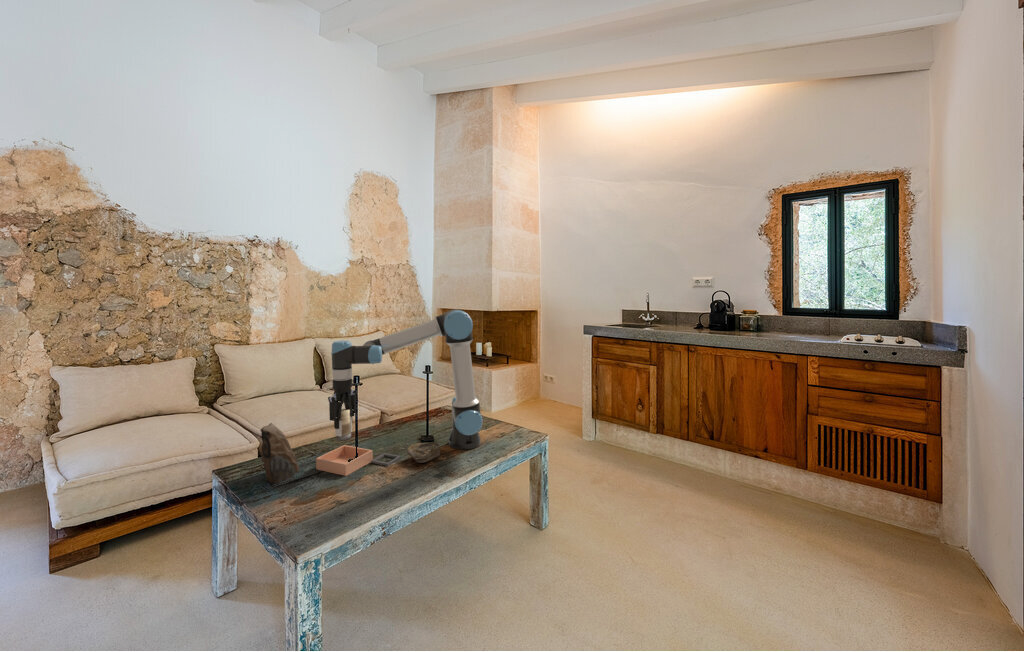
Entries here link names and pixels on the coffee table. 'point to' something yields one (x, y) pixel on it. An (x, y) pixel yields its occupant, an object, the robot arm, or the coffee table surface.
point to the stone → (424, 451)
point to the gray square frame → (385, 462)
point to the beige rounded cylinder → (345, 425)
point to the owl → (277, 455)
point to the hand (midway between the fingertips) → (343, 433)
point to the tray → (344, 460)
